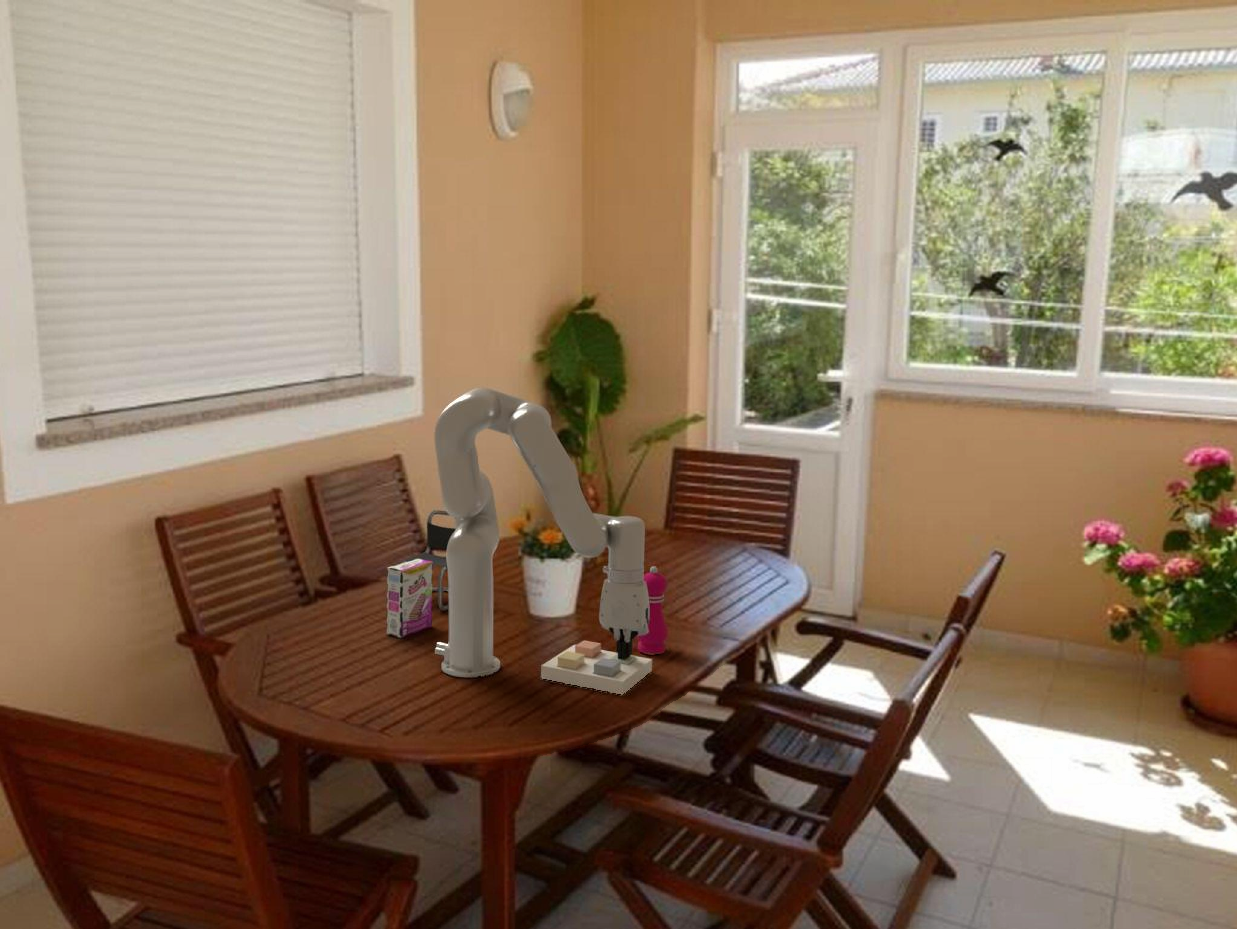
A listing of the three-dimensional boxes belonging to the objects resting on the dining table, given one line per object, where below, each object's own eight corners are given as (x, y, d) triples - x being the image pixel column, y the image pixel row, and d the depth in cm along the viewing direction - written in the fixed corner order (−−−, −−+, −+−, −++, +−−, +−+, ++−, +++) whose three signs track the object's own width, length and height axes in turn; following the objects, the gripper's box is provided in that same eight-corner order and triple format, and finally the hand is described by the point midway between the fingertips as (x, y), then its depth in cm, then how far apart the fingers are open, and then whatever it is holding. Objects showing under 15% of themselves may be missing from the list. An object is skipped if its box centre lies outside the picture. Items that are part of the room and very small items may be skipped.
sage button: (610, 669, 232) (610, 658, 232) (618, 663, 236) (618, 652, 235) (627, 672, 230) (628, 662, 230) (635, 666, 234) (636, 656, 234)
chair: (477, 595, 287) (477, 514, 283) (441, 613, 271) (441, 527, 267) (435, 589, 292) (435, 509, 288) (397, 606, 276) (397, 522, 272)
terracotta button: (575, 656, 235) (575, 645, 235) (583, 650, 239) (583, 640, 239) (592, 659, 234) (592, 649, 233) (600, 653, 237) (601, 643, 237)
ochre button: (557, 667, 228) (557, 657, 228) (566, 661, 232) (567, 651, 232) (575, 671, 226) (575, 660, 226) (584, 665, 230) (584, 654, 230)
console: (541, 679, 229) (541, 665, 228) (573, 657, 242) (574, 644, 242) (622, 695, 221) (622, 681, 220) (651, 672, 234) (652, 659, 234)
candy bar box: (402, 639, 251) (401, 570, 249) (386, 635, 254) (385, 567, 251) (433, 626, 261) (433, 560, 258) (418, 622, 263) (417, 557, 261)
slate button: (593, 675, 225) (593, 664, 224) (602, 668, 228) (602, 657, 228) (611, 678, 223) (612, 667, 223) (620, 672, 227) (620, 661, 226)
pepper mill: (640, 657, 243) (643, 571, 240) (631, 646, 250) (634, 563, 247) (671, 655, 245) (674, 569, 242) (661, 644, 252) (664, 561, 249)
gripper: (586, 574, 229) (585, 657, 232) (651, 584, 223) (649, 668, 226) (602, 566, 236) (600, 646, 239) (665, 575, 230) (662, 657, 233)
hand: (624, 657), depth 233 cm, fingers closed
